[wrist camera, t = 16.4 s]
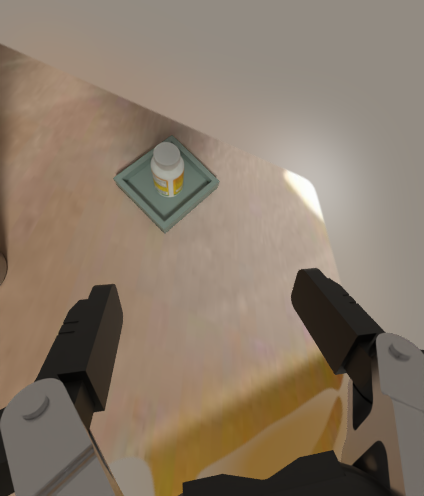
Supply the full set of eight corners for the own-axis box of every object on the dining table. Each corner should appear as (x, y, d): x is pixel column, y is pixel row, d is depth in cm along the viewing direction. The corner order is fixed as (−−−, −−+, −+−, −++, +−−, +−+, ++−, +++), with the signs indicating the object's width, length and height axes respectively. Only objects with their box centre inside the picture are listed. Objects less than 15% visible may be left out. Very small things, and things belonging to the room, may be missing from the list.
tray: (164, 233, 42) (163, 229, 39) (116, 185, 43) (113, 178, 40) (217, 187, 45) (219, 181, 43) (172, 143, 46) (171, 135, 44)
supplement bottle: (156, 199, 42) (150, 171, 33) (152, 173, 43) (145, 139, 34) (185, 196, 43) (187, 167, 34) (181, 171, 44) (181, 136, 35)
